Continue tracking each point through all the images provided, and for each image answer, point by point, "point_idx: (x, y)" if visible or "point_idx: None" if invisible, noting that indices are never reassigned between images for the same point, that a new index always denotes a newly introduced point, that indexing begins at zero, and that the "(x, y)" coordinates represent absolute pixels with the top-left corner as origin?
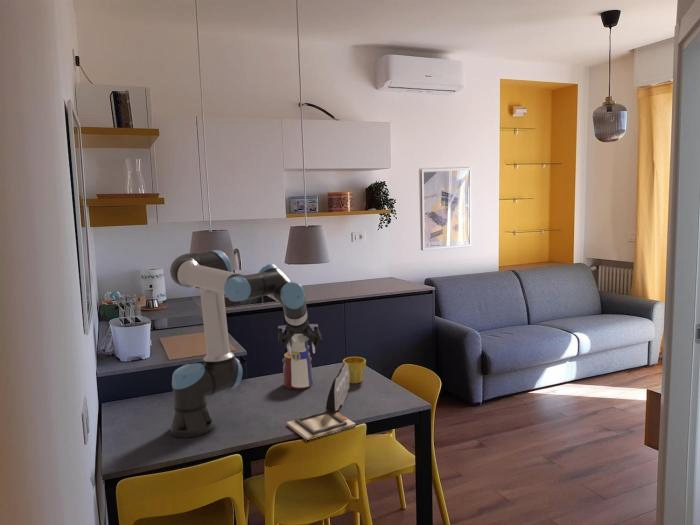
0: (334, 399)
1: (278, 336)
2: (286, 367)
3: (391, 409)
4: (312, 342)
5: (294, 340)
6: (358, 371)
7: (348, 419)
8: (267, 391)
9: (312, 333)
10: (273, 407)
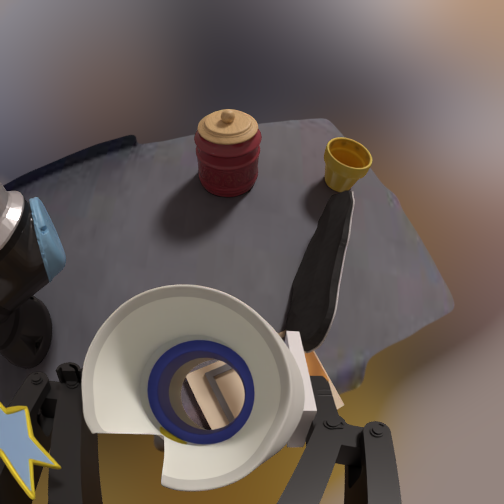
0: (312, 348)
1: (17, 404)
2: (201, 154)
3: (410, 323)
4: (295, 438)
5: (156, 339)
6: (354, 179)
7: (331, 383)
8: (165, 194)
9: (320, 497)
10: (164, 272)
